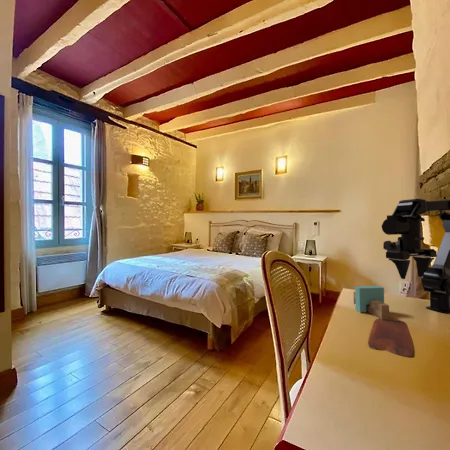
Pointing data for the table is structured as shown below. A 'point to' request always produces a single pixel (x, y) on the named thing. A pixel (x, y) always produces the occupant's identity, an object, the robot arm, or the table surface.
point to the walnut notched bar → (377, 309)
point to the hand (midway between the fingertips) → (411, 277)
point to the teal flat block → (367, 296)
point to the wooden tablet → (391, 337)
